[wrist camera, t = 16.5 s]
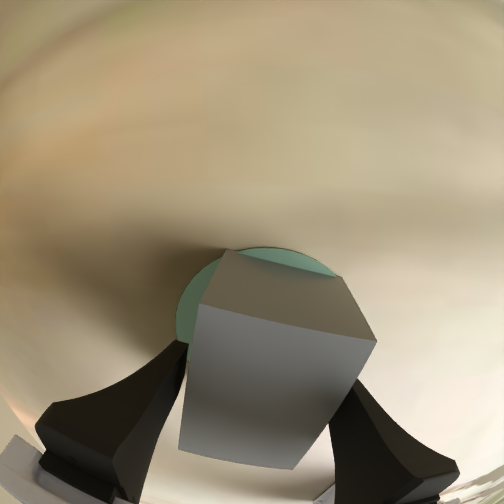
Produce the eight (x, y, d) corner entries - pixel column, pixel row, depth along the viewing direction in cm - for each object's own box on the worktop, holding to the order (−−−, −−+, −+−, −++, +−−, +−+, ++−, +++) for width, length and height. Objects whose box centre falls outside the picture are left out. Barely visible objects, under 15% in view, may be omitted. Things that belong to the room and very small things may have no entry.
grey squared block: (289, 398, 16) (292, 469, 11) (199, 379, 16) (178, 449, 11) (342, 277, 14) (377, 341, 8) (226, 248, 14) (199, 303, 8)
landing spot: (318, 406, 17) (318, 408, 16) (170, 375, 17) (169, 377, 16) (383, 273, 14) (384, 275, 13) (190, 225, 13) (189, 226, 13)
